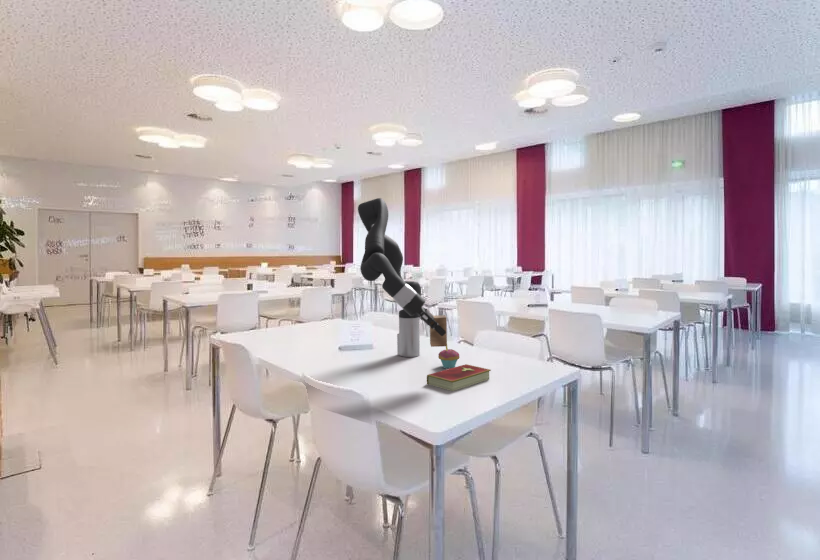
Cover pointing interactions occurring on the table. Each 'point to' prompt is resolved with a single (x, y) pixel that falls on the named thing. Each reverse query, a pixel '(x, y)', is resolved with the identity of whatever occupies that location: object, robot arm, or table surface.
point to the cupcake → (448, 358)
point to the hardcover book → (458, 377)
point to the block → (435, 337)
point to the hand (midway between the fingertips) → (443, 332)
